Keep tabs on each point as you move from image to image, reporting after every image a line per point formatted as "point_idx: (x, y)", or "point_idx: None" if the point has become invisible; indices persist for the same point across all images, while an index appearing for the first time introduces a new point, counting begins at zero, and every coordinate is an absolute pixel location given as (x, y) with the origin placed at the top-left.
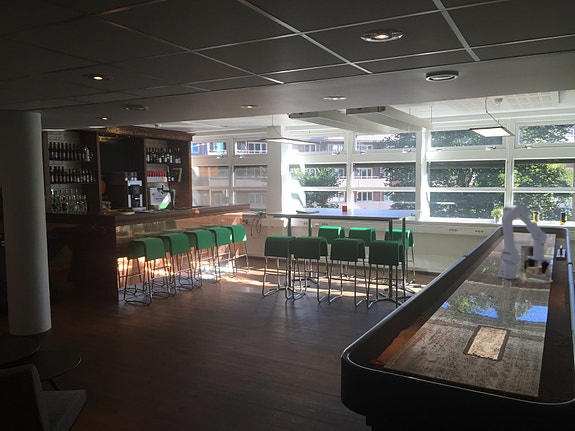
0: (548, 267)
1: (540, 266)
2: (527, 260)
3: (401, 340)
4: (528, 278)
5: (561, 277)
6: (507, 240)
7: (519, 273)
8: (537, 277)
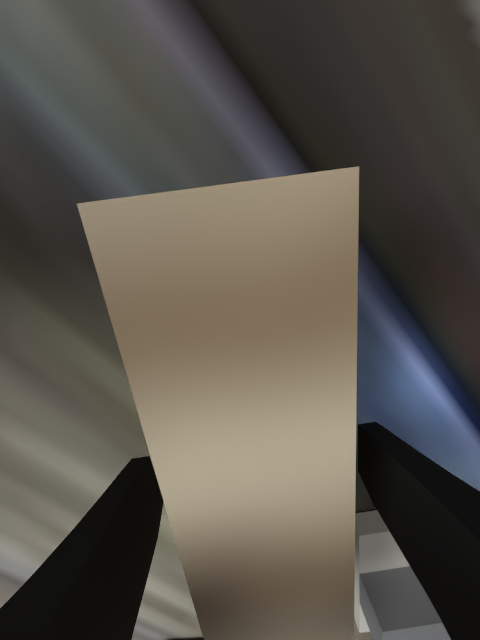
0: (344, 217)
1: (207, 470)
2: None
3: None
4: (364, 626)
5: (462, 86)
6: None
7: (26, 488)
8: None
